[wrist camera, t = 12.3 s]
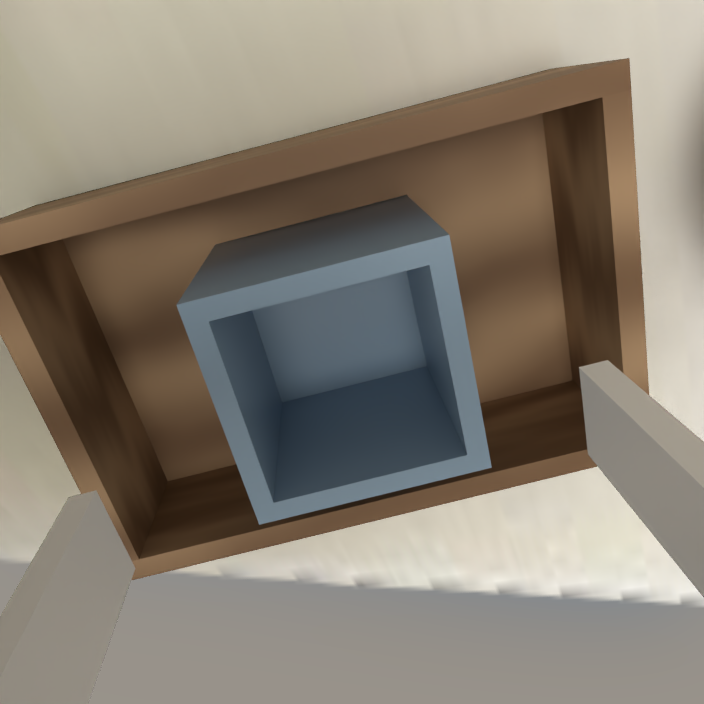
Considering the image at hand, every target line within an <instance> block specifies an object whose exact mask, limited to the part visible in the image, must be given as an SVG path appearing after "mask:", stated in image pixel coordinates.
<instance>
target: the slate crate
mask: <svg viewBox="0 0 704 704" xmlns="http://www.w3.org/2000/svg"><path fill="white" fill-rule="evenodd" d="M176 306H177V308H178V311H179V314H180V316H181V319H182V321H183V324H184V327H185V329H186V332H187V335H188V337H189V340H190V343H191V345H192V348H193V351H194V353H195V356H196V359H197V361H198V364H199V367H200V369H201V372H202V374H203V377H204V380H205V382H206V385H207V388H208V390H209V393H210V396H211V398H212V401H213V404H214V406H215V409H216V412H217V414H218V417H219V419H220V422H221V425H222V427H223V430H224V433H225V435H226V438H227V441H228V443H229V446H230V449H231V451H232V454H233V457H234V459H235V462H236V465H237V467H238V470H239V472H240V475H241V478H242V480H243V483H244V486H245V488H246V491H247V494H248V496H249V499H250V502H251V504H252V507H253V510H254V512H255V515H256V517H257V520H258V523H259V525H260V524H264V523H268V522H273V521H277V520H281V519H285V518H289V517H293V516H297V515H301V514H305V513H309V512H313V511H317V510H321V509H325V508H330V507H334V506H338V505H342V504H346V503H350V502H354V501H358V500H362V499H366V498H370V497H374V496H378V495H382V494H387V493H391V492H395V491H399V490H403V489H407V488H411V487H415V486H419V485H423V484H427V483H431V482H435V481H439V480H444V479H448V478H452V477H456V476H460V475H464V474H468V473H472V472H476V471H480V470H484V469H488V468H492V466H491V461H490V455H489V450H488V444H487V439H486V433H485V428H484V422H483V417H482V411H481V406H480V400H479V395H478V389H477V384H476V378H475V373H474V367H473V362H472V356H471V351H470V346H469V340H468V335H467V329H466V324H465V318H464V313H463V307H462V302H461V296H460V291H459V285H458V280H457V274H456V269H455V263H454V258H453V252H452V247H451V241H450V236H449V234H448V233H447V232H446V231H445V230H444V229H443V228H442V227H441V226H439V225H438V224H437V223H436V222H435V221H434V220H433V219H432V218H431V217H430V216H429V215H428V214H427V213H426V212H424V211H423V210H422V209H421V208H420V207H419V206H418V205H417V204H416V203H415V202H414V201H413V200H412V199H411V198H409V197H408V196H407V195H404V196H400V197H396V198H392V199H388V200H385V201H381V202H377V203H373V204H369V205H365V206H361V207H358V208H354V209H350V210H346V211H342V212H338V213H335V214H331V215H327V216H323V217H319V218H315V219H312V220H308V221H304V222H300V223H296V224H292V225H288V226H285V227H281V228H277V229H273V230H269V231H265V232H262V233H258V234H254V235H250V236H246V237H242V238H239V239H235V240H231V241H227V242H223V243H219V244H215V246H214V247H213V249H212V250H211V252H210V254H209V255H208V257H207V258H206V260H205V261H204V263H203V264H202V266H201V268H200V269H199V271H198V272H197V274H196V275H195V277H194V278H193V280H192V281H191V283H190V285H189V286H188V288H187V289H186V291H185V292H184V294H183V295H182V297H181V298H180V300H179V302H178V303H177V305H176Z"/></svg>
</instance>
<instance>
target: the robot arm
mask: <svg viewBox="0 0 704 704" xmlns="http://www.w3.org/2000/svg"><path fill="white" fill-rule="evenodd" d="M579 372H580V382H581V392H582V401H583V411H584V421H585V431H586V440H587V450H588V455H589V456H590V457H591V459H592V460H593V461H594V462H595V464H596V465H597V466H598V467H599V468H600V470H601V471H602V472H603V473H604V475H605V476H606V477H607V478H608V480H609V481H610V482H611V483H612V485H613V486H614V487H615V488H616V490H617V491H618V492H619V493H620V494H621V496H622V497H623V498H624V499H625V501H626V502H627V503H628V504H629V506H630V507H631V508H632V509H633V511H634V512H635V513H636V514H637V515H638V517H639V518H640V519H641V520H642V522H643V523H644V524H645V525H646V527H647V528H648V529H649V530H650V532H651V533H652V534H653V535H654V537H655V538H656V539H657V540H658V541H659V543H660V544H661V545H662V546H663V548H664V549H665V550H666V551H667V553H668V554H669V555H670V556H671V558H672V559H673V560H674V561H675V562H676V564H677V565H678V566H679V567H680V569H681V570H682V571H683V572H684V574H685V575H686V576H687V577H688V579H689V580H690V581H691V582H692V583H693V585H694V586H695V587H696V588H697V590H698V591H699V592H700V593H701V595H702V596H703V597H704V442H703V441H702V440H701V439H700V438H699V437H697V436H696V435H695V434H694V433H693V432H692V431H690V430H689V429H688V428H687V427H686V426H684V425H683V424H682V423H681V422H680V421H679V420H677V419H676V418H675V417H674V416H673V415H672V414H670V413H669V412H668V411H667V410H666V409H665V408H663V407H662V406H661V405H660V404H659V403H658V402H656V401H655V400H654V399H653V398H652V397H650V396H649V395H648V394H647V393H646V392H645V391H643V390H642V389H641V388H640V387H639V386H638V385H636V384H635V383H634V382H633V381H632V380H631V379H629V378H628V377H627V376H626V375H625V374H624V373H622V372H621V371H620V370H619V369H618V368H616V367H615V366H614V365H613V364H612V363H611V362H609V361H608V360H606V361H602V362H598V363H594V364H590V365H586V366H582V367H579ZM134 571H135V566H134V564H133V562H132V560H131V558H130V556H129V554H128V552H127V550H126V548H125V546H124V544H123V542H122V540H121V538H120V537H119V535H118V533H117V531H116V529H115V527H114V525H113V523H112V521H111V519H110V517H109V515H108V513H107V511H106V509H105V507H104V505H103V503H102V501H101V499H100V497H99V495H98V493H97V491H92V492H88V493H84V494H80V495H76V496H72V497H69V498H68V499H67V501H66V503H65V505H64V506H63V508H62V510H61V512H60V513H59V515H58V517H57V518H56V520H55V522H54V524H53V525H52V527H51V529H50V531H49V532H48V534H47V536H46V538H45V539H44V541H43V543H42V545H41V546H40V548H39V550H38V552H37V553H36V555H35V557H34V559H33V560H32V562H31V564H30V566H29V567H28V569H27V571H26V572H25V574H24V576H23V578H22V579H21V581H20V583H19V585H18V586H17V588H16V590H15V592H14V593H13V595H12V597H11V599H10V600H9V602H8V604H7V605H6V608H5V609H4V611H3V612H2V614H1V616H0V704H88V703H89V700H90V698H91V695H92V692H93V689H94V686H95V683H96V680H97V678H98V675H99V672H100V669H101V666H102V663H103V660H104V657H105V655H106V652H107V649H108V646H109V643H110V640H111V637H112V634H113V631H114V628H115V626H116V623H117V620H118V617H119V614H120V611H121V608H122V605H123V603H124V600H125V597H126V594H127V591H128V588H129V585H130V582H131V580H132V577H133V574H134Z"/></svg>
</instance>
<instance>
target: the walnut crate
mask: <svg viewBox="0 0 704 704" xmlns="http://www.w3.org/2000/svg"><path fill="white" fill-rule="evenodd" d="M404 195H407V196H408V197H409V198H411V199H412V200H413V201H414V202H415V203H416V204H417V205H418V206H419V207H420V208H421V209H422V210H423V211H424V212H426V213H427V214H428V215H429V216H430V217H431V218H432V219H433V220H434V221H435V222H436V223H437V224H438V225H439V226H441V227H442V228H443V229H444V230H445V231H446V232H447V233H448V234H449V236H450V241H451V247H452V252H453V258H454V263H455V269H456V274H457V280H458V285H459V291H460V296H461V302H462V307H463V313H464V318H465V324H466V329H467V335H468V340H469V346H470V351H471V356H472V362H473V367H474V373H475V378H476V384H477V389H478V395H479V400H480V406H481V411H482V417H483V422H484V428H485V433H486V439H487V444H488V450H489V455H490V461H491V466H492V468H488V469H484V470H480V471H476V472H472V473H468V474H464V475H460V476H456V477H452V478H448V479H444V480H439V481H435V482H431V483H427V484H423V485H419V486H415V487H411V488H407V489H403V490H399V491H395V492H391V493H387V494H382V495H378V496H374V497H370V498H366V499H362V500H358V501H354V502H350V503H346V504H342V505H338V506H334V507H330V508H325V509H321V510H317V511H313V512H309V513H305V514H301V515H297V516H293V517H289V518H285V519H281V520H277V521H273V522H268V523H264V524H260V525H259V523H258V520H257V517H256V515H255V512H254V510H253V507H252V504H251V502H250V499H249V496H248V494H247V491H246V488H245V486H244V483H243V480H242V478H241V475H240V472H239V470H238V467H237V465H236V462H235V459H234V457H233V454H232V451H231V449H230V446H229V443H228V441H227V438H226V435H225V433H224V430H223V427H222V425H221V422H220V419H219V417H218V414H217V412H216V409H215V406H214V404H213V401H212V398H211V396H210V393H209V390H208V388H207V385H206V382H205V380H204V377H203V374H202V372H201V369H200V367H199V364H198V361H197V359H196V356H195V353H194V351H193V348H192V345H191V343H190V340H189V337H188V335H187V332H186V329H185V327H184V324H183V321H182V319H181V316H180V314H179V311H178V308H177V306H176V305H177V303H178V302H179V300H180V298H181V297H182V295H183V294H184V292H185V291H186V289H187V288H188V286H189V285H190V283H191V281H192V280H193V278H194V277H195V275H196V274H197V272H198V271H199V269H200V268H201V266H202V264H203V263H204V261H205V260H206V258H207V257H208V255H209V254H210V252H211V250H212V249H213V247H214V246H215V244H219V243H223V242H227V241H231V240H235V239H239V238H242V237H246V236H250V235H254V234H258V233H262V232H265V231H269V230H273V229H277V228H281V227H285V226H288V225H292V224H296V223H300V222H304V221H308V220H312V219H315V218H319V217H323V216H327V215H331V214H335V213H338V212H342V211H346V210H350V209H354V208H358V207H361V206H365V205H369V204H373V203H377V202H381V201H385V200H388V199H392V198H396V197H400V196H404ZM0 335H1V337H2V339H3V341H4V343H5V345H6V346H7V348H8V350H9V352H10V354H11V356H12V358H13V360H14V362H15V364H16V366H17V368H18V370H19V372H20V374H21V376H22V378H23V380H24V382H25V384H26V386H27V388H28V390H29V392H30V394H31V396H32V398H33V400H34V402H35V404H36V406H37V408H38V409H39V411H40V413H41V415H42V417H43V419H44V421H45V423H46V425H47V427H48V429H49V431H50V433H51V435H52V437H53V439H54V441H55V443H56V445H57V447H58V449H59V451H60V453H61V455H62V457H63V459H64V461H65V463H66V465H67V467H68V469H69V471H70V472H71V474H72V476H73V478H74V480H75V482H76V484H77V486H78V488H79V490H80V492H81V494H84V493H88V492H92V491H97V493H98V495H99V497H100V499H101V501H102V503H103V505H104V507H105V509H106V511H107V513H108V515H109V517H110V519H111V521H112V523H113V525H114V527H115V529H116V531H117V533H118V535H119V537H120V538H121V540H122V542H123V544H124V546H125V548H126V550H127V552H128V554H129V556H130V558H131V560H132V562H133V564H134V566H135V571H134V574H133V577H132V580H135V579H138V578H143V577H147V576H151V575H155V574H159V573H163V572H167V571H171V570H176V569H180V568H184V567H188V566H192V565H196V564H200V563H204V562H208V561H212V560H216V559H221V558H225V557H229V556H233V555H237V554H241V553H245V552H249V551H253V550H257V549H261V548H266V547H270V546H274V545H278V544H282V543H286V542H290V541H294V540H298V539H302V538H306V537H311V536H315V535H319V534H323V533H327V532H331V531H335V530H339V529H343V528H347V527H351V526H356V525H360V524H364V523H368V522H372V521H376V520H380V519H384V518H388V517H392V516H396V515H400V514H405V513H409V512H413V511H417V510H421V509H425V508H429V507H433V506H437V505H441V504H445V503H450V502H454V501H458V500H462V499H466V498H470V497H474V496H478V495H482V494H486V493H490V492H495V491H499V490H503V489H507V488H511V487H515V486H519V485H523V484H527V483H531V482H535V481H540V480H544V479H548V478H552V477H556V476H560V475H564V474H568V473H572V472H576V471H580V470H584V469H589V468H593V467H597V465H596V464H595V462H594V461H593V460H592V459H591V457H590V456H589V455H588V450H587V440H586V431H585V421H584V411H583V401H582V392H581V382H580V372H579V367H582V366H586V365H590V364H594V363H598V362H602V361H606V360H608V361H609V362H611V363H612V364H613V365H614V366H615V367H616V368H618V369H619V370H620V371H621V372H622V373H624V374H625V375H626V376H627V377H628V378H629V379H631V380H632V381H633V382H634V383H635V384H636V385H638V386H639V387H640V388H641V389H642V390H643V391H645V392H646V393H647V394H648V395H649V386H648V369H647V352H646V335H645V318H644V301H643V284H642V267H641V250H640V233H639V216H638V199H637V182H636V165H635V148H634V131H633V114H632V97H631V80H630V63H629V58H627V59H620V60H613V61H605V62H598V63H591V64H583V65H576V66H569V67H561V68H554V69H549V70H545V71H542V72H538V73H534V74H530V75H527V76H523V77H519V78H515V79H511V80H508V81H504V82H500V83H496V84H493V85H489V86H485V87H481V88H477V89H474V90H470V91H466V92H462V93H459V94H455V95H451V96H447V97H443V98H440V99H436V100H432V101H428V102H425V103H421V104H417V105H413V106H409V107H406V108H402V109H398V110H394V111H391V112H387V113H383V114H379V115H375V116H372V117H368V118H364V119H360V120H357V121H353V122H349V123H345V124H341V125H338V126H334V127H330V128H326V129H323V130H319V131H315V132H311V133H307V134H304V135H300V136H296V137H292V138H289V139H285V140H281V141H277V142H273V143H270V144H266V145H262V146H258V147H255V148H251V149H247V150H243V151H239V152H236V153H232V154H228V155H224V156H221V157H217V158H213V159H209V160H205V161H202V162H198V163H194V164H190V165H187V166H183V167H179V168H175V169H171V170H168V171H164V172H160V173H156V174H153V175H149V176H145V177H141V178H137V179H134V180H130V181H126V182H122V183H119V184H115V185H111V186H107V187H103V188H100V189H96V190H92V191H88V192H85V193H81V194H77V195H73V196H69V197H66V198H62V199H58V200H54V201H51V202H47V203H43V204H39V205H35V206H32V207H30V208H27V209H25V210H22V211H19V212H17V213H14V214H11V215H9V216H6V217H4V218H1V219H0Z"/></svg>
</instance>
